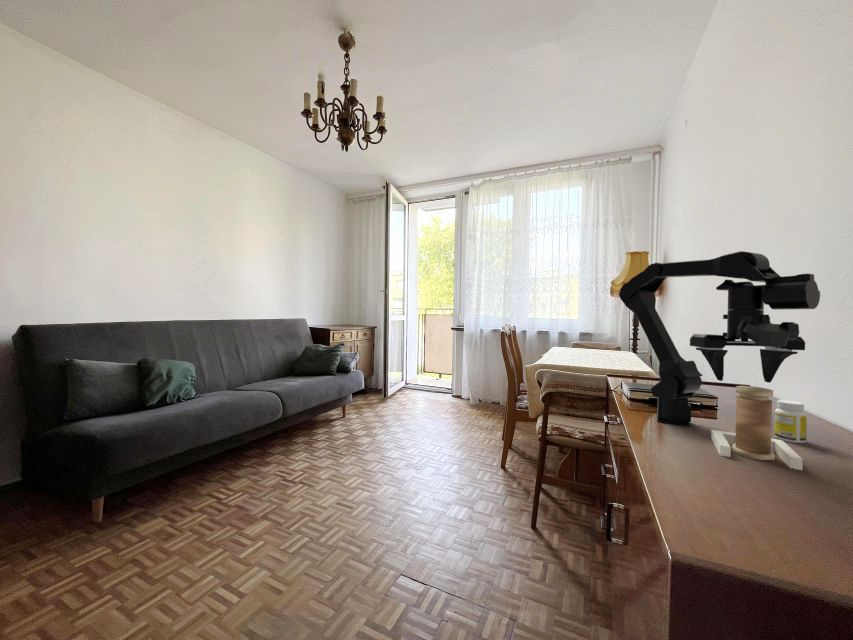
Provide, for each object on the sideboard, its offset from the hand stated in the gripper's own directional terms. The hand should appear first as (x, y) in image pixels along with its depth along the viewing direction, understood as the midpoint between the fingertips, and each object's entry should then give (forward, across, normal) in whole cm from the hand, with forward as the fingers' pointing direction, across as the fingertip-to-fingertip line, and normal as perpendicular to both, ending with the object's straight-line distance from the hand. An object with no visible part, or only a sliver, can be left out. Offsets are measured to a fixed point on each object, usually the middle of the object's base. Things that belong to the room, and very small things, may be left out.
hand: (743, 381), depth 73 cm
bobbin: (+13, -4, -8) cm, 16 cm away
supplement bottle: (+13, +11, +3) cm, 17 cm away
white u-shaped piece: (+13, -4, -8) cm, 16 cm away
